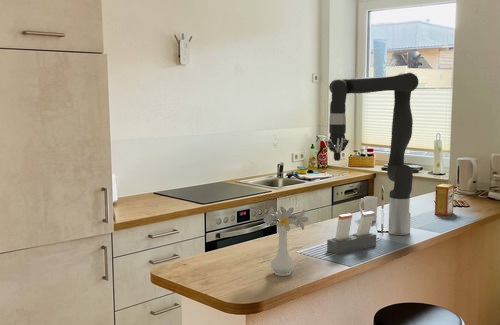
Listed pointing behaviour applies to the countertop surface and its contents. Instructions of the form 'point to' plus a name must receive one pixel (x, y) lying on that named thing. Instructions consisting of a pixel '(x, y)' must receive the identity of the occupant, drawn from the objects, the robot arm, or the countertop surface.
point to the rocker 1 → (343, 226)
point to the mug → (369, 205)
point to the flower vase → (283, 237)
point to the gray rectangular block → (351, 243)
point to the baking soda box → (444, 199)
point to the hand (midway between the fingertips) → (337, 160)
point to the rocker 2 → (365, 223)
